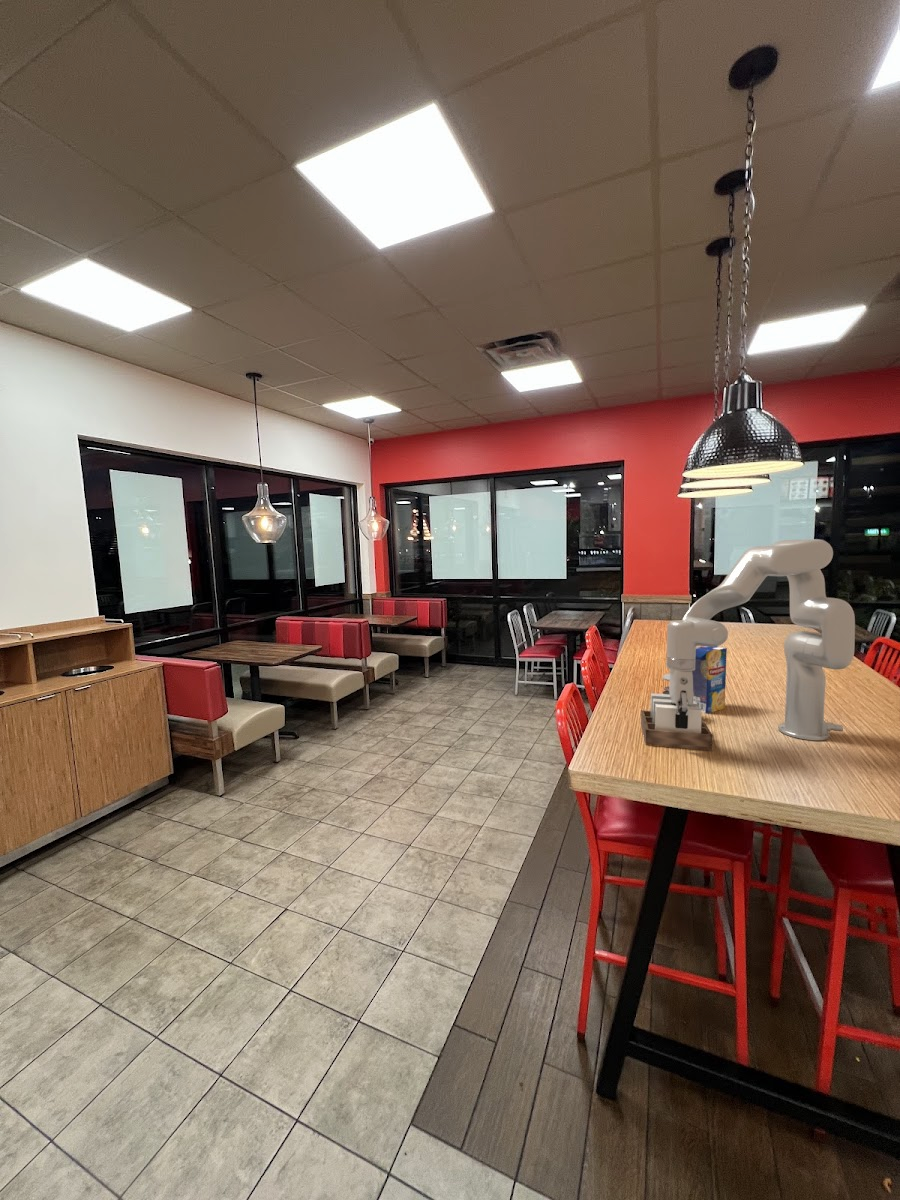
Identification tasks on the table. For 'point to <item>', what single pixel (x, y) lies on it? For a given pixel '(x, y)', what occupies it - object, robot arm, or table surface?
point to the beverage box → (709, 678)
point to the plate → (667, 718)
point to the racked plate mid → (665, 702)
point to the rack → (675, 735)
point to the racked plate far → (658, 696)
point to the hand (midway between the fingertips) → (678, 723)
